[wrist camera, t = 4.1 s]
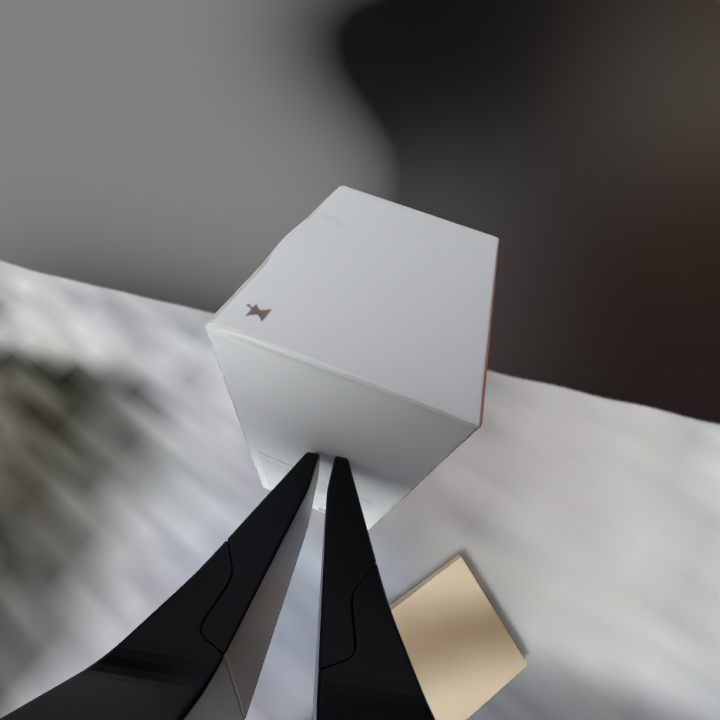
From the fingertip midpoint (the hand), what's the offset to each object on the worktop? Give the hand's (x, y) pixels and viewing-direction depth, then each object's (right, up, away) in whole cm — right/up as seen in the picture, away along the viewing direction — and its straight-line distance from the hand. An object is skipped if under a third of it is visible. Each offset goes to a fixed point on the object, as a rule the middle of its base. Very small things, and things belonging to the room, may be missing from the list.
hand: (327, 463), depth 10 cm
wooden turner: (+3, -14, +7) cm, 16 cm away
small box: (0, -2, +9) cm, 9 cm away
